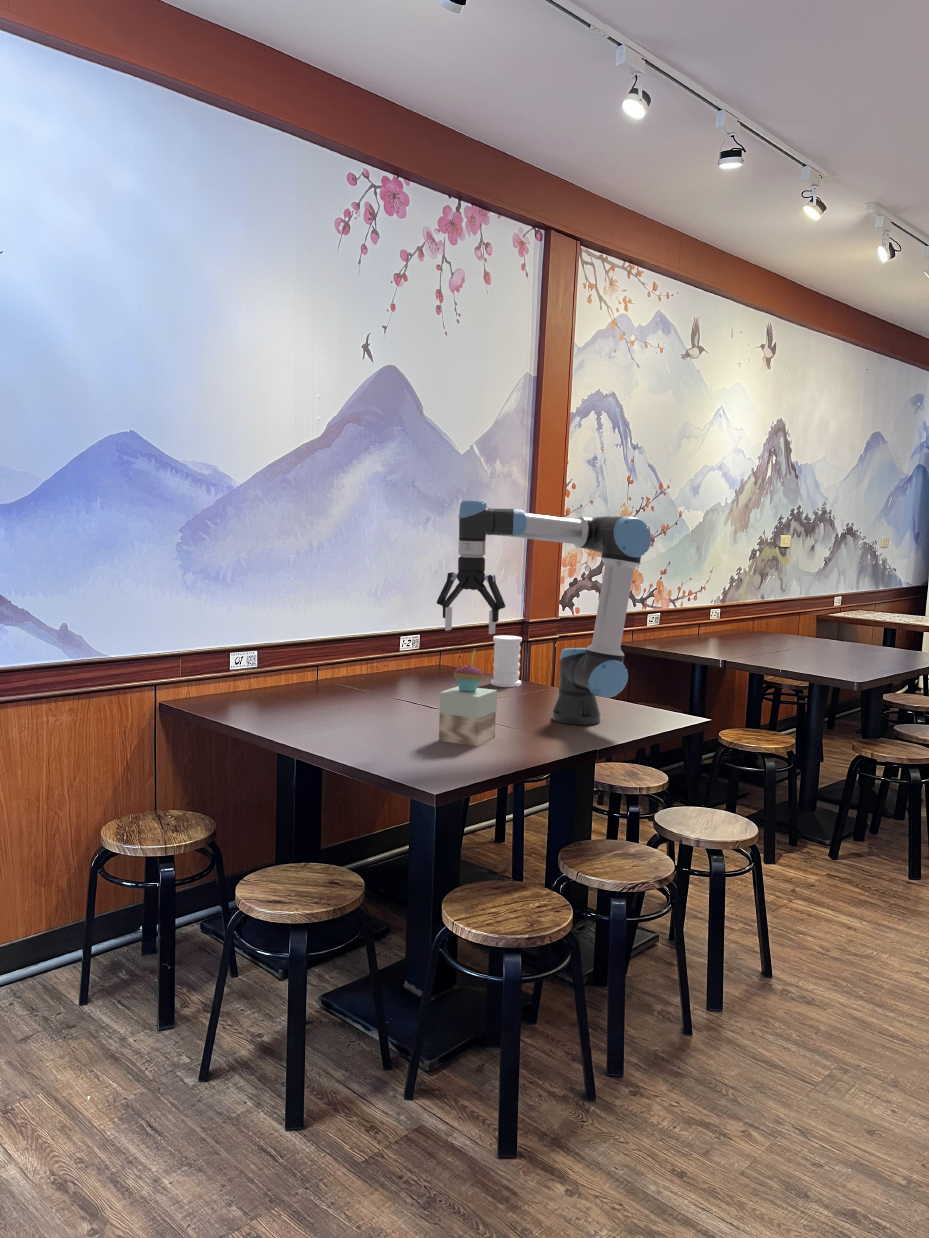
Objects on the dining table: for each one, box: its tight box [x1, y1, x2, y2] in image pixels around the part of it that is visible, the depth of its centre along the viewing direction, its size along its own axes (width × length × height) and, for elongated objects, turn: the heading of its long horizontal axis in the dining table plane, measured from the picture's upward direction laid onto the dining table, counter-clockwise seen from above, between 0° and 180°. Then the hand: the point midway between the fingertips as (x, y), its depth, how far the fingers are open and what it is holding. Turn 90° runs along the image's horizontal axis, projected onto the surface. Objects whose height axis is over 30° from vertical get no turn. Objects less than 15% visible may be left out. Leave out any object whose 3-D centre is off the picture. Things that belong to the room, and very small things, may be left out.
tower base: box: [438, 710, 497, 747], centre depth 262 cm, size 12×12×8 cm
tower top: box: [439, 685, 498, 718], centre depth 261 cm, size 12×12×6 cm
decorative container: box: [490, 634, 523, 688], centre depth 349 cm, size 12×12×18 cm
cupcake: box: [453, 648, 484, 692], centre depth 260 cm, size 9×8×12 cm
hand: (469, 631), depth 259 cm, fingers open, 13 cm apart
